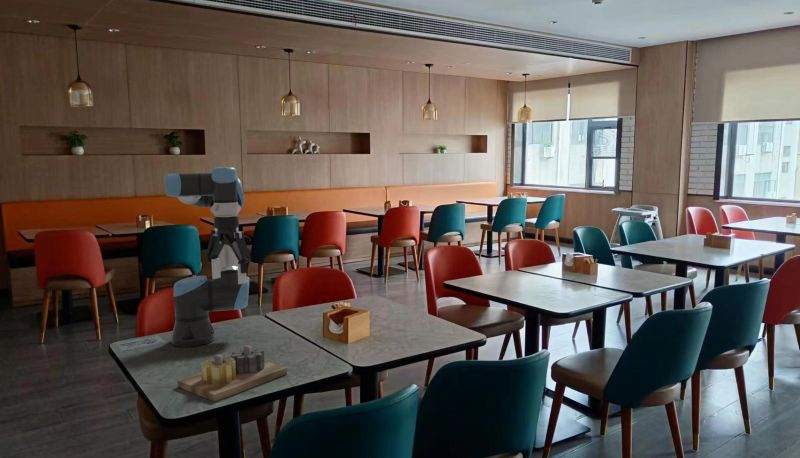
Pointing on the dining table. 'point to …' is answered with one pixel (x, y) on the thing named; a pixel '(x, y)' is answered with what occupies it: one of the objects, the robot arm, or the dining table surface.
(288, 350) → the dining table surface
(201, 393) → the gear board
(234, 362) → the brass gear
